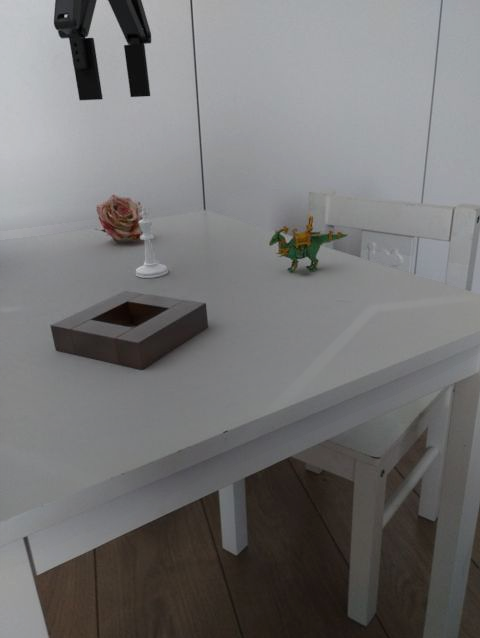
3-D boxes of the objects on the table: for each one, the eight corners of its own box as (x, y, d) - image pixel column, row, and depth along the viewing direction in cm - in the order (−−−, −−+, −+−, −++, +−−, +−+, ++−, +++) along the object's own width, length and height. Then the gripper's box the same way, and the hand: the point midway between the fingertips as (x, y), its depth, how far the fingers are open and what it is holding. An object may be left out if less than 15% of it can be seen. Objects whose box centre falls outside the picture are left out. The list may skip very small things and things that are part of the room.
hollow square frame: (55, 350, 63) (49, 325, 62) (128, 312, 73) (124, 290, 71) (142, 370, 58) (138, 343, 56) (208, 326, 67) (206, 302, 66)
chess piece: (129, 276, 87) (119, 210, 82) (147, 267, 91) (138, 204, 87) (157, 279, 85) (148, 211, 81) (173, 269, 89) (166, 204, 85)
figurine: (268, 270, 87) (266, 216, 83) (344, 263, 88) (345, 209, 85) (272, 276, 84) (270, 220, 80) (350, 268, 86) (351, 213, 82)
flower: (83, 233, 108) (87, 201, 102) (117, 213, 113) (123, 182, 107) (120, 264, 106) (127, 234, 100) (153, 243, 112) (161, 214, 106)
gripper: (57, -145, 54) (95, 100, 63) (163, -81, 76) (180, 94, 85) (-11, -133, 56) (35, 102, 65) (112, -74, 78) (134, 96, 87)
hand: (117, 98), depth 75 cm, fingers open, 13 cm apart
